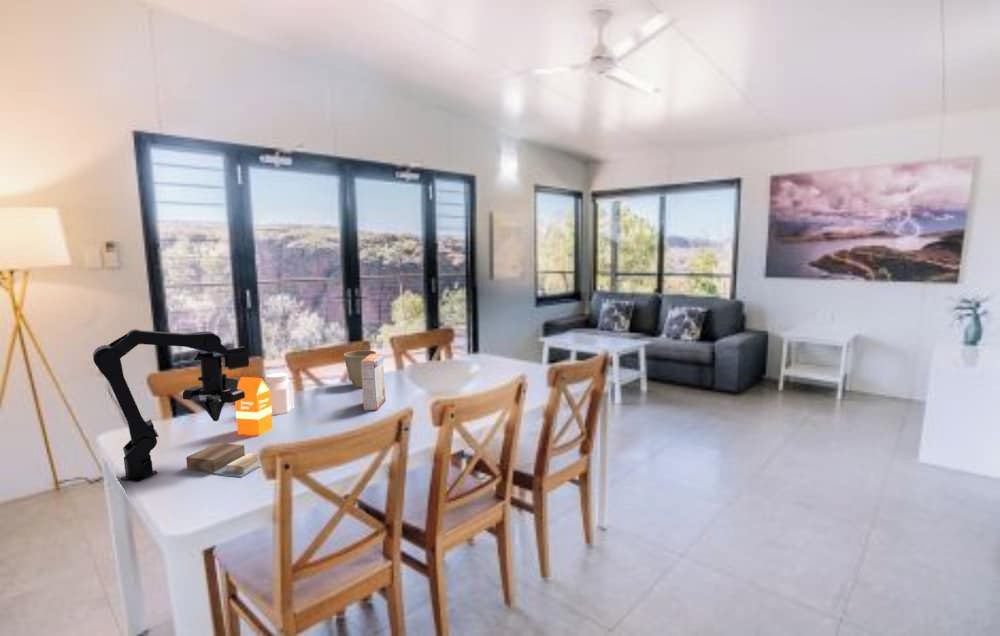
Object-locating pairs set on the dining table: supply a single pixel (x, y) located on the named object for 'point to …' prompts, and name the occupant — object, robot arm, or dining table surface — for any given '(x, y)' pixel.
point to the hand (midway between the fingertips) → (216, 420)
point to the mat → (234, 474)
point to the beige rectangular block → (243, 463)
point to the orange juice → (254, 407)
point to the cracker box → (373, 381)
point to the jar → (280, 393)
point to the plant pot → (356, 365)
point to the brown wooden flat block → (214, 457)
